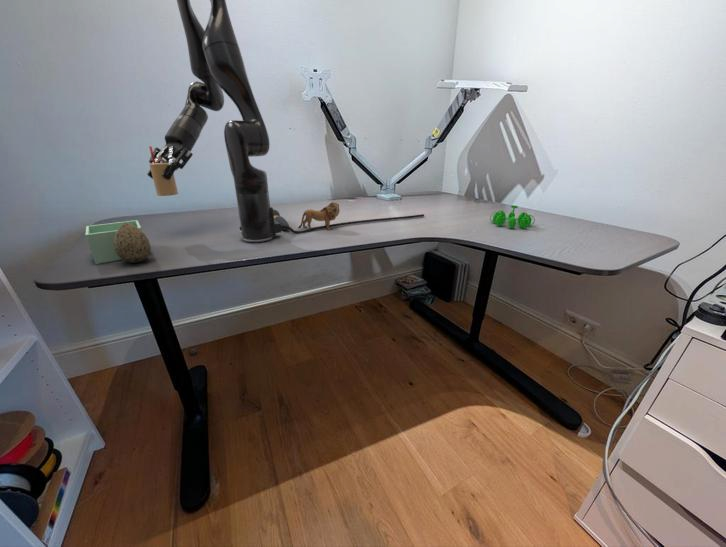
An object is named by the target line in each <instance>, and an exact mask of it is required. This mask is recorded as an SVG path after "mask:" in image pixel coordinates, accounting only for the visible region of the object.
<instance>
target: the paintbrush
mask: <svg viewBox="0 0 726 547" xmlns="http://www.w3.org/2000/svg"><path fill="white" fill-rule="evenodd" d="M273 214H274V220H276V221H277V222H279V223H280V225H284V226H289V227H290V225H289V223H288V221H287V220H286V218H284V216H283V217H282V216H281V214H280V212H279V210H277V209H274V208H273ZM281 230H284V231H288V230H289V229H286V228H281Z"/></svg>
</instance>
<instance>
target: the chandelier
mask: <svg viewBox="0 0 726 547" xmlns="http://www.w3.org/2000/svg"><path fill="white" fill-rule="evenodd" d="M510 208H513V210H511V211H510V212H509V213H508V216H507V214H506V212H505V210H498V211H494V212H492V214H491V215H490V216H489V220H490V222H491V223H492V224H495V225H496V226H497V227H502V226H504V225H505V223H506V221H508V224H507V226H508V227H509V228H510V229H513V228H515V227H516V223H517V222H518V223H517V224H518V227H519V228H520V229H523V230H525V229H527V228H528V227H532V226H533V225H534V224H535V222H536V219H535V217H534V216H533V215H532V214H528V213H527V212H526V211H523V212H520V214H519V215H518V217H517V218H516V217H515V216H516V213H515V209H518V208H519V206H518V205H510ZM492 216H493V217H492ZM532 218H533V222H532Z"/></svg>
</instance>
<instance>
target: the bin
mask: <svg viewBox="0 0 726 547" xmlns="http://www.w3.org/2000/svg"><path fill="white" fill-rule="evenodd" d="M124 223H129V224H132V225H133V226H135V227H137V228H138V229H140V230H141V231H142V232H143V229H142V226H141V224H140V223H139V219H136V220H127V221H118V222H110V223H102V224H93V225H86V227H85V233H84V236H85V238H86V241H87V245H88V246H89V250H90V252H91V253H90V254H91V255H92V258H93V260H94V264H95V265H99V264H104V263H105V264H106V263H110V262H117V261H123V259H121V258H120V257H119V256H118V254H117V253H116V251H115V248H114V237H115V234H116V232H117V230H118V229H119V227H120V226H121V225H122V224H124Z"/></svg>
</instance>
